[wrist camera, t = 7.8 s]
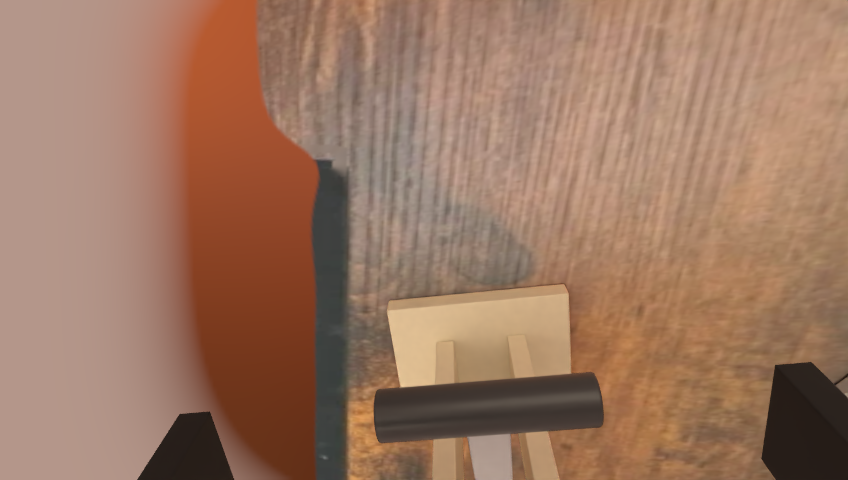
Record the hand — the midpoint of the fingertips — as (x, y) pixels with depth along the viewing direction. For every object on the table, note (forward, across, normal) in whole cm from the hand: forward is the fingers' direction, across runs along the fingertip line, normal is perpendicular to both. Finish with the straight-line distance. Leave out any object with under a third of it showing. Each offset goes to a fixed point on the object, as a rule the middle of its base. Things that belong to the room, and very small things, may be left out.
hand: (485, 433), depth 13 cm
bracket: (+17, 0, -10) cm, 20 cm away
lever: (+4, 0, -5) cm, 6 cm away
